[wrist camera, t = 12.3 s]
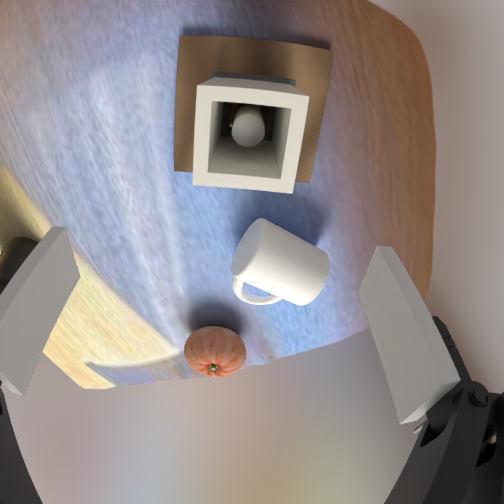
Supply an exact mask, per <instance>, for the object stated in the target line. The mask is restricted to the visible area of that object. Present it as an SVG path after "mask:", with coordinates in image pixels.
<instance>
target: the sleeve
mask: <svg viewBox="0 0 504 504" xmlns="http://www.w3.org/2000/svg"><path fill="white" fill-rule="evenodd" d="M223 102H236V103H247V104H258V105H267V106H275V107H276V112H275V119H274V126H273V134H272V141H266V140H262V141H261V142H260V143H259V144H258V145H256V146H253V147H244V146H241V145H239V144H238V143H237V142H236V141H235V140H234V139H233V137H223V136H221V126H222V114H223ZM308 103H309V96H308V95H306V94H305V93H303V92H301V91H300V90H298V89H297V88H295V87H293V86H292V85H290V84H283V83H275V82H267V81H258V80H248V79H236V78H221V77H214V78H212V79H210V80H208V81H205V82H203V83H201V84H199V85H197V95H196V111H195V130H194V155H193V185H201V186H215V187H228V188H240V189H251V190H261V191H271V192H280V193H289V194H293V189H294V183H295V178H296V172H297V167H298V161H299V156H300V150H301V144H302V139H303V133H304V127H305V121H306V115H307V109H308Z"/></svg>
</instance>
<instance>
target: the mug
mask: <svg viewBox="0 0 504 504" xmlns="http://www.w3.org/2000/svg"><path fill="white" fill-rule="evenodd" d="M231 272H232V275H233V276H234V278H233V281H232V289H233V291H234V293H235V294H236V295H237V297H239V298H240V299H241V300H243V301H245V302H247V303H250V304H257V305H265V304H272V303H275V302H278V301H280V300H282V299H285V300H287V301H290V302H292V303H294V304H297V305H306V304H308V303H310V302H311V301H312V300H313V299H315V297H316V296H317V295H318V294H319V293H320V291H321V290H322V288H323V286H324V284H325V282H326V280H327V277H328V273H329V258H328V256H327V254H326V253H325V252H324V251H322V250H321V249H319V248H317V247H315V246H314V245H312V244H310V243H308V242H306V241H304V240H303V239H301V238H299V237H297V236H295V235H294V234H292V233H290V232H288V231H286V230H284V229H283V228H281V227H279V226H277V225H275V224H273V223H271V222H270V221H268V220H266V219H264V218H259V219H257V220H255V221H254V222H253V223H252V224H251V225H250V226H249V228H248V229H247V230H246V232H245V233H244V235H243V237H242V238H241V240H240V242H239V244H238V246H237V249H236V251H235V254H234V257H233V261H232V266H231ZM244 282H246V283H249V284H251V285H253V286H255V287H258V288H260V289H262V290H264V291H267V292H269V293H271V295H269V296H266V297H258V296H254V295H251V294H248V293H246V292H244V291H243V290H242V286H243V283H244Z"/></svg>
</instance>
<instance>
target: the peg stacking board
mask: <svg viewBox="0 0 504 504" xmlns="http://www.w3.org/2000/svg"><path fill="white" fill-rule="evenodd" d="M332 57H333V51H330V50H326V49H321V48H316V47H311V46H306V45H300V44H294V43H287V42H281V41H273V40H265V39H255V38H244V37H230V36H197V35H193V36H180V40H179V52H178V65H177V80H176V99H175V128H174V171H182V172H193V155H194V130H195V111H196V95H197V85H199V84H201V83H203V82H205V81H208V80H210V72H212V71H216V72H233V73H245V74H256V75H265V76H273V77H281V78H288V79H294V80H296V84H295V88H297V89H298V90H300V91H301V92H303V93H305V94H306V95H308V96H309V103H308V109H307V115H306V121H305V127H304V133H303V139H302V144H301V150H300V156H299V161H298V167H297V172H296V178H295V181H296V182H304V183H310V178H311V174H312V169H313V164H314V159H315V154H316V148H317V143H318V138H319V133H320V127H321V122H322V116H323V111H324V105H325V100H326V94H327V88H328V82H329V76H330V70H331V64H332ZM267 109H268V106H267V105H258V104H247V103H236V102H232V105H231V116H230V127H232V136H233V139H234V140H235V141H236V142H237V143H238V144H239V145H241V146H244V147H253V146H256V145H258V144H259V143H260V142H261V141H262V140H263V138H264V135H265V124H266V116H267Z"/></svg>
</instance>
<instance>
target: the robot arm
mask: <svg viewBox="0 0 504 504" xmlns="http://www.w3.org/2000/svg"><path fill="white" fill-rule="evenodd" d="M79 278H80V274H79V271H78V268H77V265H76V261H75V258H74V255H73V251H72V248H71V245H70V241H69V237H68V234H67V230H66V227H52V228H51V229H50V230H49V231H48V232H47V234H46V235H45V236H44V237H43V238H42V240H41V241H40V242H39V243H36V242H34V241H32V240H30V239H27V238H22V237H18V238H14V239H12V240H11V241H10V242H9V243H8V244H7V245H6V246H5V247H4V249H3V250H2V252H1V255H0V386H1V384H4V385H5V386H6V387H7V388H8V389H9V390H10V391H12V392H14V393H16V394H19V395H22V396H24V395H25V392H26V390H27V387H28V384H29V382H30V379H31V377H32V374H33V372H34V369H35V367H36V364H37V362H38V360H39V357H40V355H41V353H42V351H43V349H44V346H45V344H46V342H47V340H48V338H49V336H50V334H51V331H52V329H53V327H54V325H55V323H56V321H57V319H58V317H59V315H60V313H61V311H62V309H63V307H64V305H65V304H66V302H67V300H68V298H69V296H70V294H71V292H72V291H73V289H74V287H75V285H76V283H77V282H78V280H79ZM358 296H359V298H360V301H361V304H362V307H363V309H364V312H365V315H366V318H367V320H368V323H369V326H370V329H371V332H372V335H373V338H374V340H375V344H376V346H377V349H378V353H379V356H380V359H381V362H382V365H383V368H384V371H385V374H386V377H387V381H388V384H389V387H390V391H391V394H392V398H393V401H394V405H395V409H396V412H397V416H398V420H399V423H400V424H402V423H407V422H412V421H416V420H418V419H419V418H420V417H421V416H423V415H424V414H425V413H426V415H427V418H428V419H427V420H426V421H425V422H423V423H422V424H421V425H420V426H418V427H417V428H416V429H415V430H414V432H413V433H414V434H415V433H417V432H418V431H420V430H421V432H420V434H419V435H418V438H417V441H416V443H415V445H414V447H413V450H412V452H411V454H410V456H409V458H408V460H407V463H406V465H405V467H404V468H403V471H402V473H401V474H400V476H399V478H398V480H397V482H396V484H395V486H394V487H393V489H392V491H391V493H390V495H389V496H388V498H387V500H386V501H385V503H384V504H504V392H503V393H502V394H497V393H489V392H488V391H487V389H486V388H485V387H484V386H483V385H482V384H481V383H479V382H476V381H473V382H472V380H471V378H470V376H469V374H468V372H467V369H466V367H465V365H464V362H463V360H462V358H461V356H460V354H459V352H458V349H457V348H455V346H456V345H455V343H454V341H453V339H451V335H450V333H449V331H448V329H447V327H446V325H445V324H444V323H443V322H442V321H441V320H440V319H439V318H438V317H437V316H431V315H430V313H429V311H428V309H427V307H426V305H425V304H424V302H423V300H422V298H421V296H420V294H419V292H418V291H417V289H416V287H415V285H414V283H413V282H412V280H411V278H410V276H409V275H408V273H407V271H406V269H405V268H404V266H403V264H402V263H401V261H400V259H399V258H398V256H397V254H396V253H395V251H394V250H393V248H392V247H387V246H376V249H375V252H374V254H373V257H372V260H371V262H370V265H369V267H368V270H367V272H366V275H365V277H364V280H363V282H362V285H361V287H360V290H359V292H358ZM494 435H496V442H494V443H493V444H492V441H491V438H492V437H493V436H494ZM0 504H43V503H42V501H41V499H40V497H39V496H38V493H37V491H36V489H35V486H34V484H33V482H32V480H31V477H30V475H29V473H28V470H27V468H26V465H25V463H24V460H23V457H22V455H21V452H20V449H19V446H18V443H17V440H16V437H15V434H14V431H13V428H12V424H11V421H10V417H9V413H8V410H7V406H6V402H5V398H4V394H3V391H2V389H1V388H0Z"/></svg>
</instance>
